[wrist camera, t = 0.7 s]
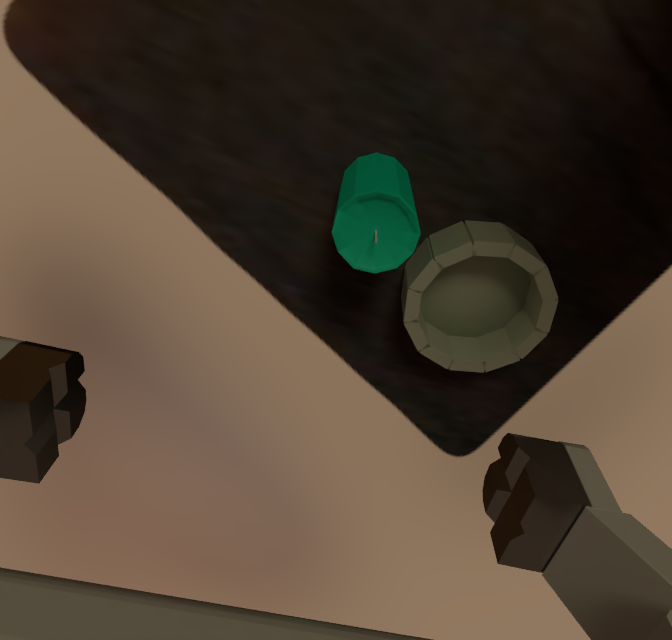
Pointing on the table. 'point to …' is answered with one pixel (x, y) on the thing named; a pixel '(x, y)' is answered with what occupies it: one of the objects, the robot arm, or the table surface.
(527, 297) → the dish
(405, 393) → the table surface
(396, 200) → the candle
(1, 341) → the robot arm
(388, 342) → the table surface
